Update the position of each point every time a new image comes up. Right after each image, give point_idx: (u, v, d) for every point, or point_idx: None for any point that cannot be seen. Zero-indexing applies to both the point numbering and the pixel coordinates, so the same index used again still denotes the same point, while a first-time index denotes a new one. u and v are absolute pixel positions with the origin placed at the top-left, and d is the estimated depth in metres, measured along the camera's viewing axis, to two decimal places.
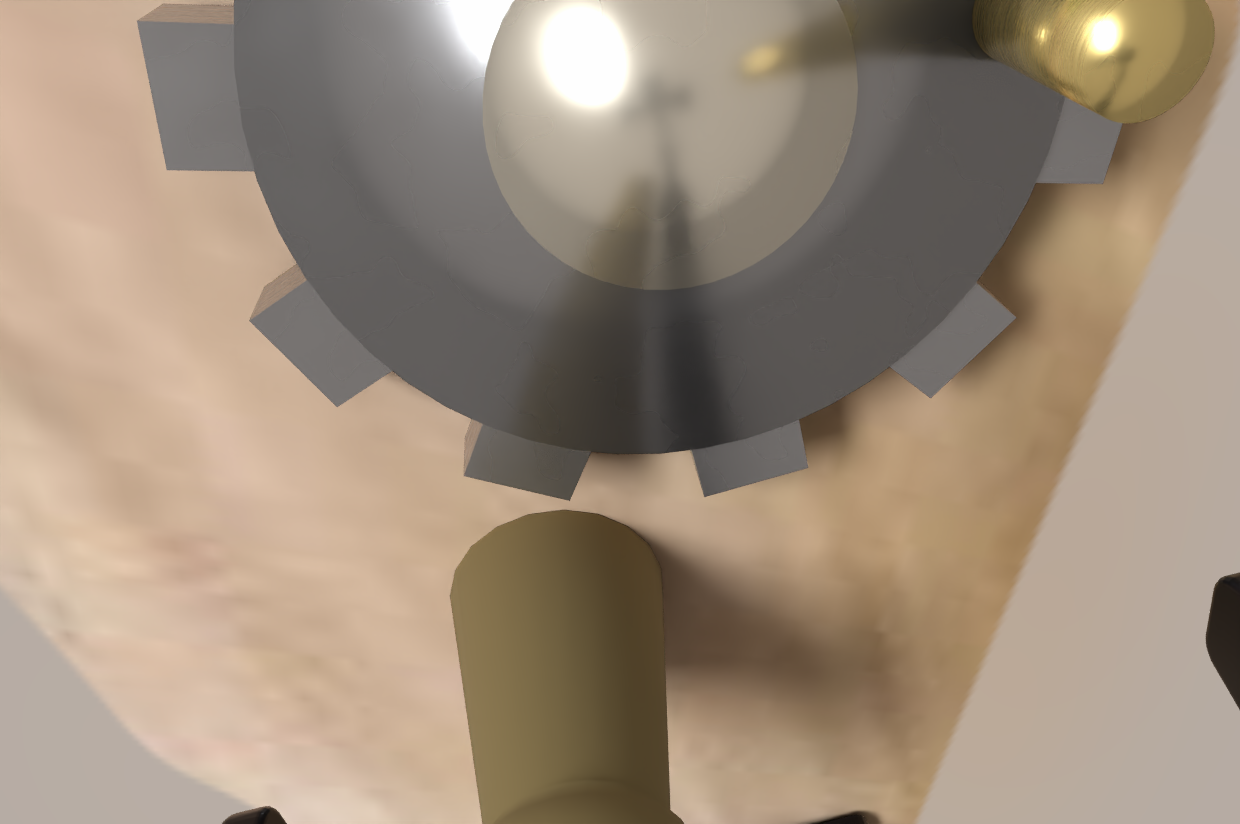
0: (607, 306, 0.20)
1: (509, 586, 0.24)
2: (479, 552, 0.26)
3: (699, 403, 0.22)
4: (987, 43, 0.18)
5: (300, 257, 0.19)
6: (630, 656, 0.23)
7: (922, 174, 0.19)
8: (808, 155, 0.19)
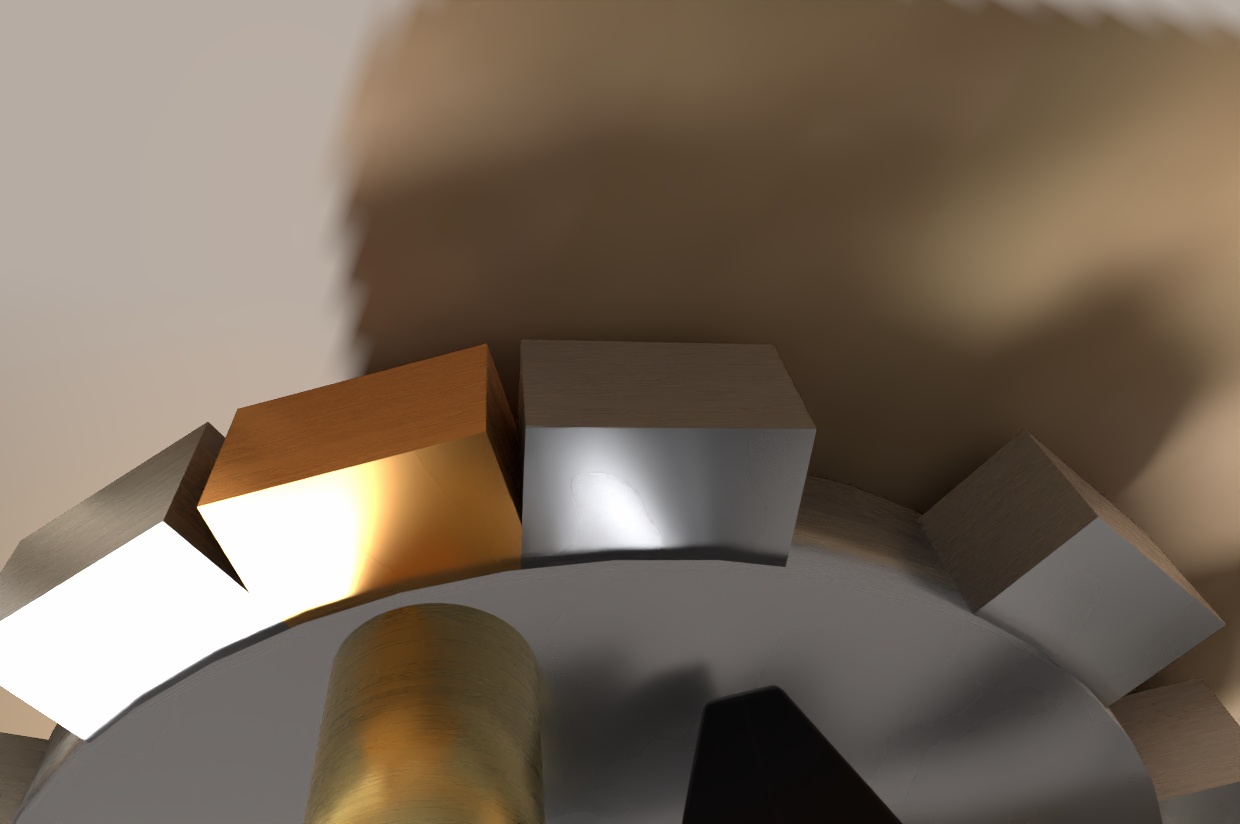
0: None
1: None
2: None
3: None
4: None
5: None
6: None
7: None
8: None
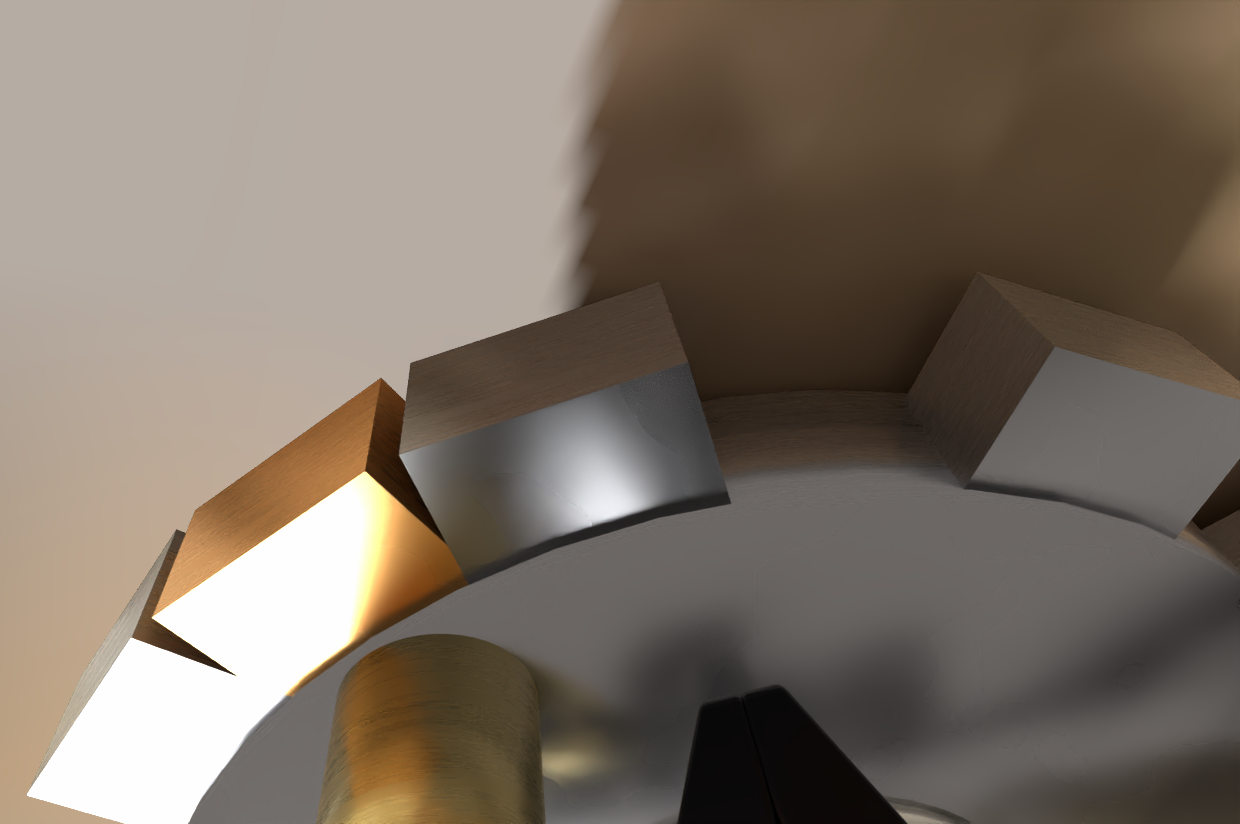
0: None
1: None
2: None
3: None
4: None
5: None
6: None
7: None
8: None
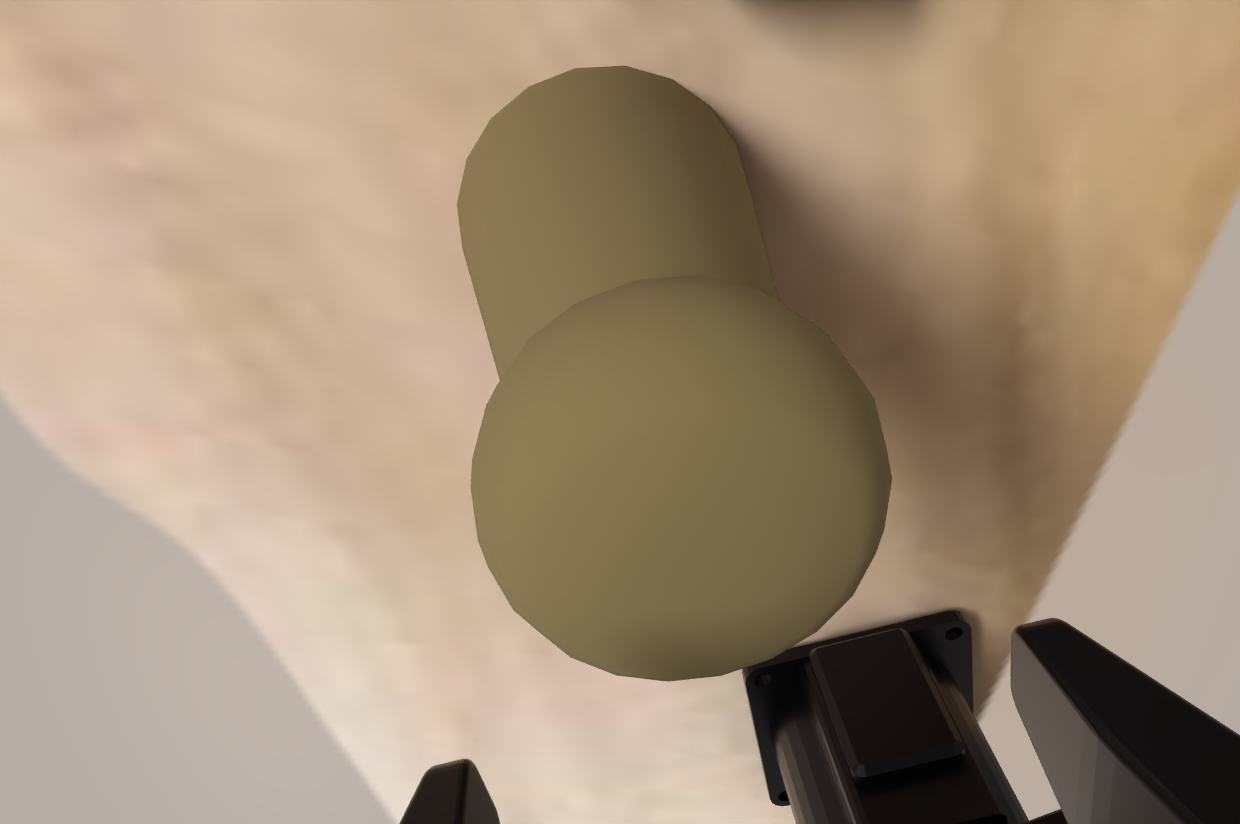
0: None
1: (550, 129, 0.17)
2: (503, 118, 0.18)
3: None
4: None
5: None
6: (730, 201, 0.16)
7: None
8: None
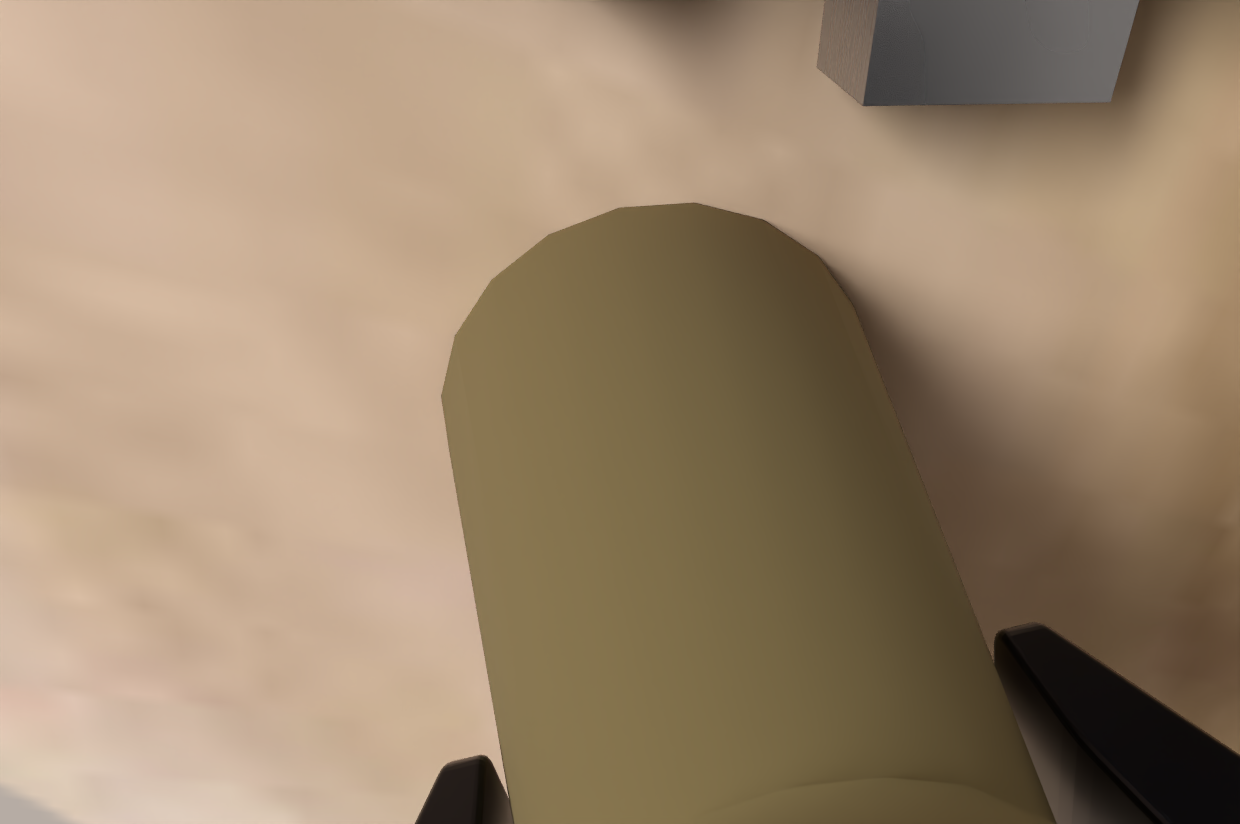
0: None
1: (586, 326, 0.10)
2: (510, 284, 0.12)
3: None
4: None
5: None
6: (895, 476, 0.09)
7: None
8: None
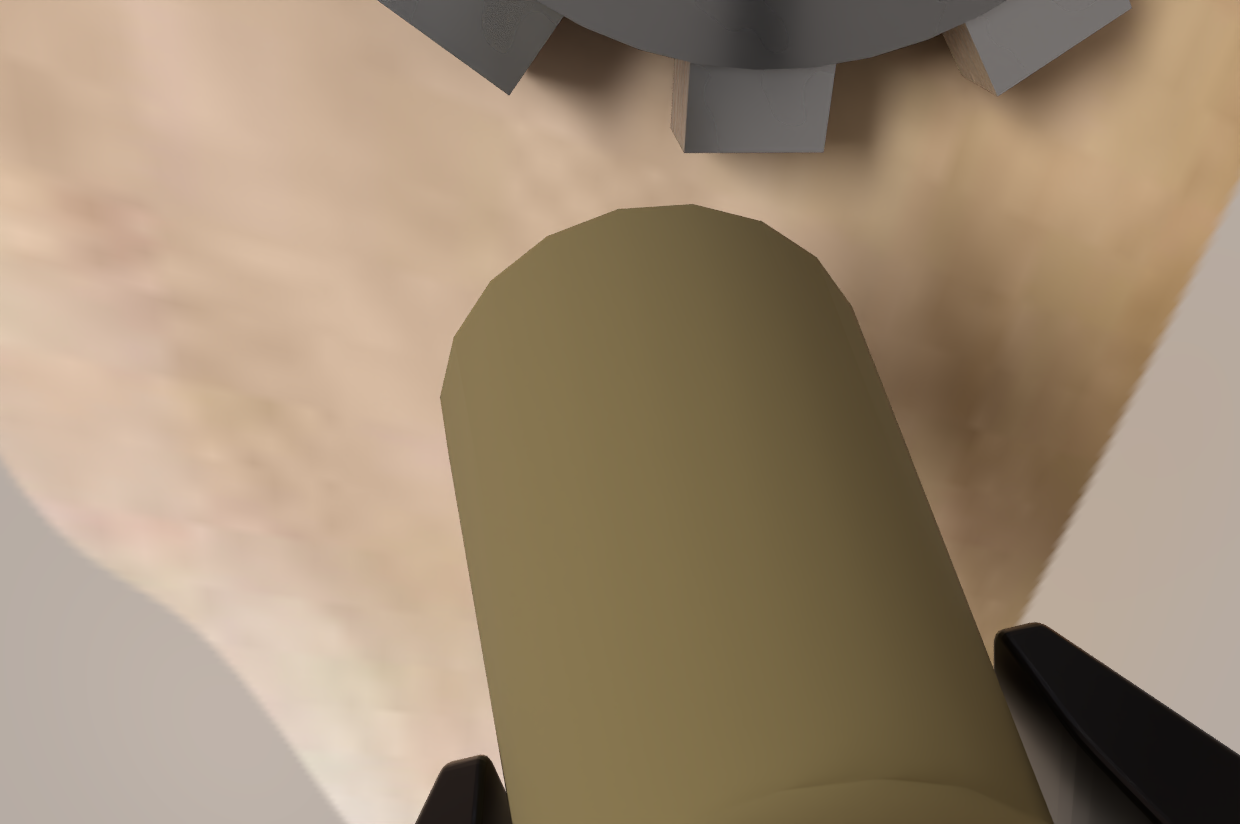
0: None
1: (584, 327, 0.10)
2: (509, 285, 0.12)
3: None
4: None
5: None
6: (893, 477, 0.09)
7: None
8: None
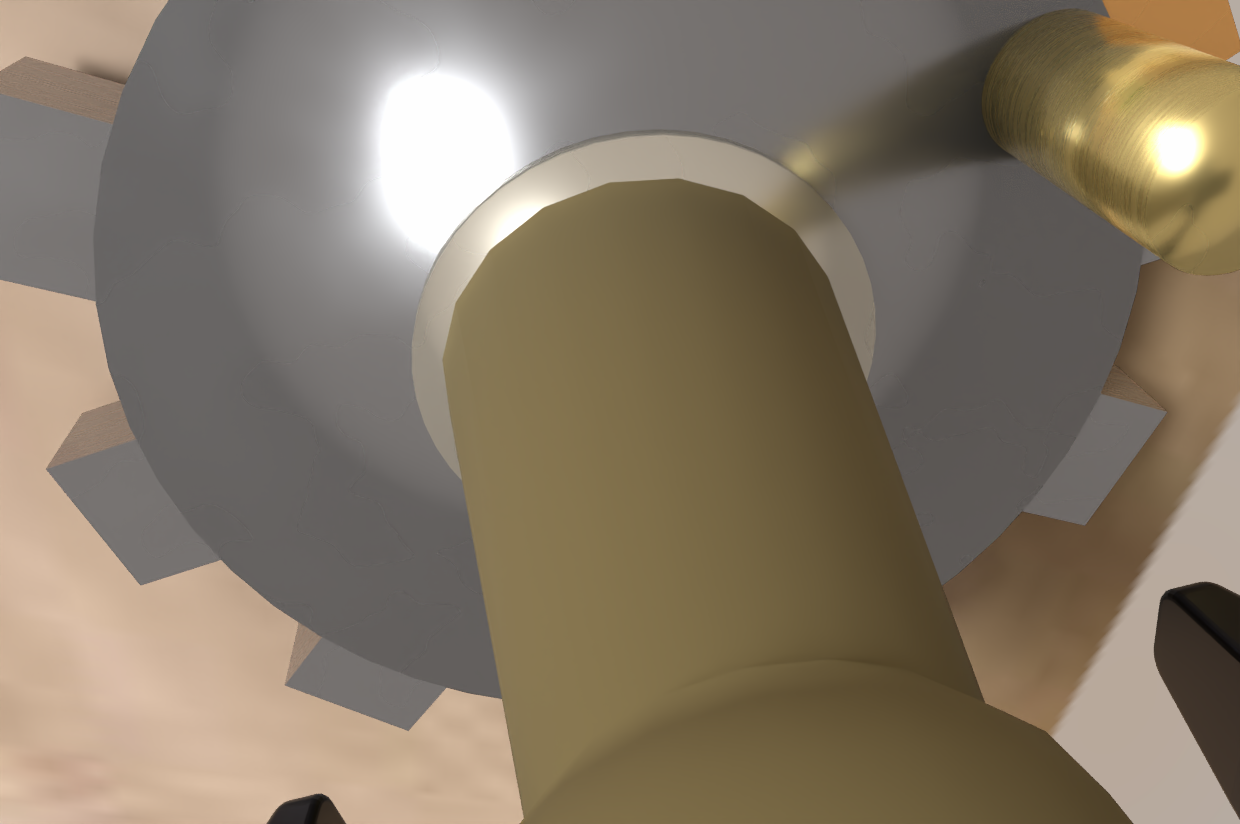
0: None
1: (577, 287, 0.11)
2: (507, 253, 0.13)
3: None
4: (1014, 156, 0.13)
5: (307, 620, 0.17)
6: (857, 420, 0.10)
7: (984, 311, 0.15)
8: None
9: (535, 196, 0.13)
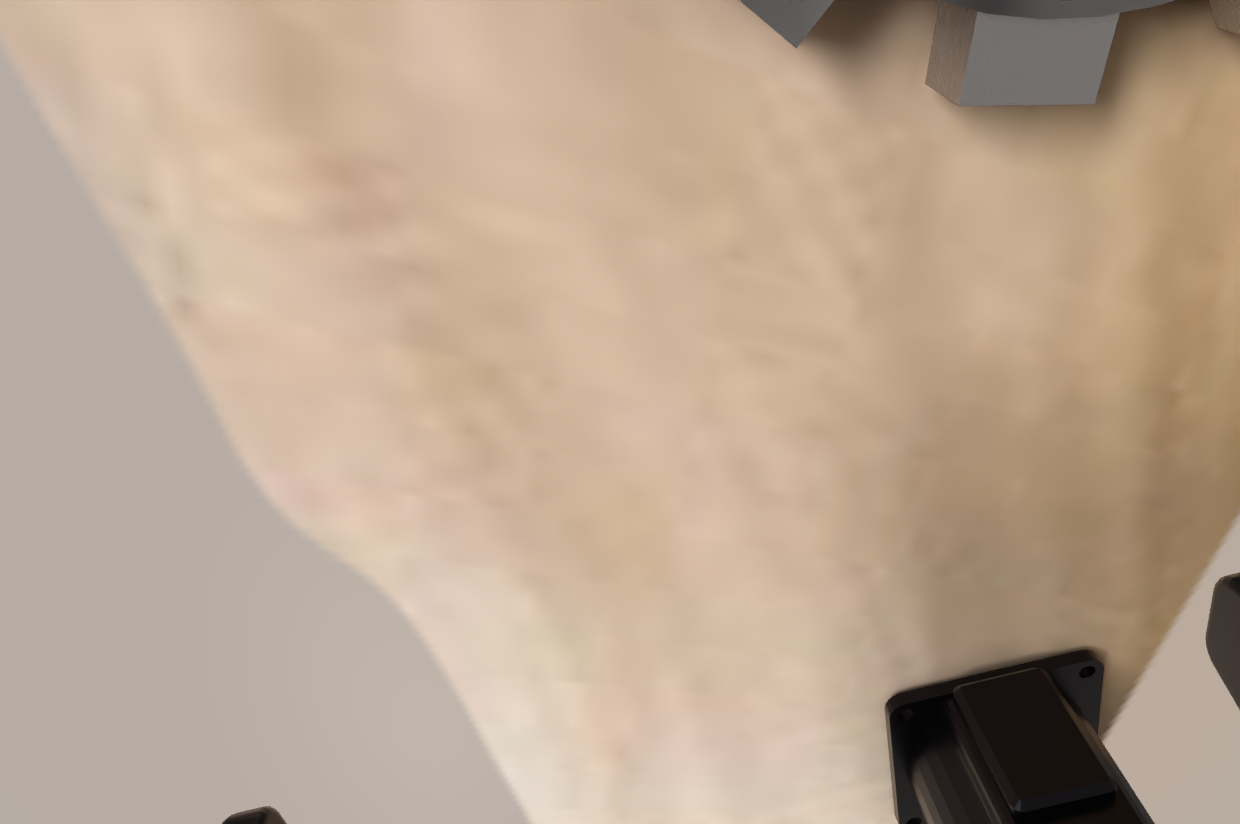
0: None
1: None
2: None
3: None
4: None
5: None
6: None
7: None
8: None
9: None
